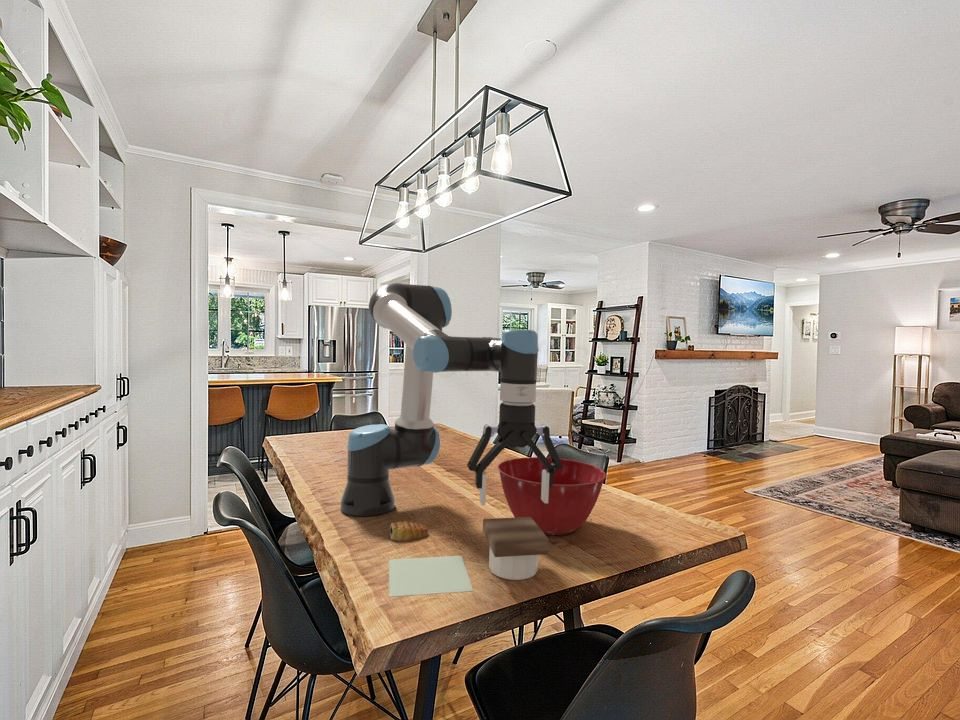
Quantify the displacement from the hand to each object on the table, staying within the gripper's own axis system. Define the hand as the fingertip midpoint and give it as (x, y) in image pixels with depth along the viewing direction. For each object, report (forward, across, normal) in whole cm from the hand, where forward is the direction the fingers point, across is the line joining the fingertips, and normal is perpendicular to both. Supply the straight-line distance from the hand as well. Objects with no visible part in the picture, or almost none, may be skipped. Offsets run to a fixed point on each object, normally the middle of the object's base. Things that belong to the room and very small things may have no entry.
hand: (513, 502), depth 105 cm
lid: (+8, 0, -1) cm, 9 cm away
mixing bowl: (+15, +16, +23) cm, 32 cm away
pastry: (+16, -22, +21) cm, 34 cm away
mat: (+15, -18, -1) cm, 23 cm away
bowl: (+14, 0, -1) cm, 15 cm away
